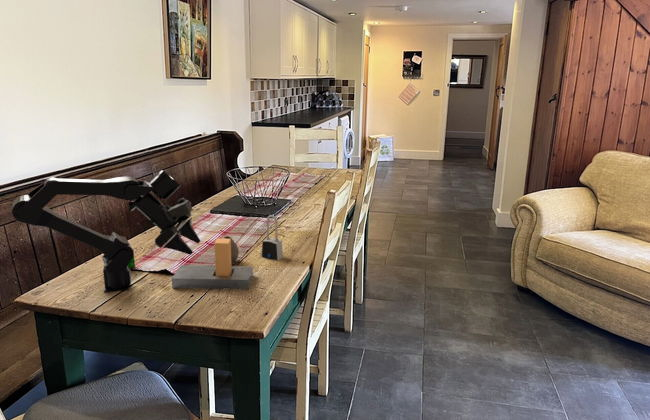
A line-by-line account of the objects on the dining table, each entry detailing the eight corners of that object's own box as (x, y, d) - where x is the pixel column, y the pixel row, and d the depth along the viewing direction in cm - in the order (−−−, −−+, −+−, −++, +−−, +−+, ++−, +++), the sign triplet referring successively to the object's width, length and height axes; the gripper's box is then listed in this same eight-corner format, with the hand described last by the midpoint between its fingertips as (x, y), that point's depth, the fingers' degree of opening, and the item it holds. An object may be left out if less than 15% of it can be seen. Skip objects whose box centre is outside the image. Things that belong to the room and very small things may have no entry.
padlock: (283, 256, 165) (283, 215, 160) (277, 261, 161) (277, 218, 157) (267, 253, 167) (266, 212, 163) (260, 257, 164) (260, 215, 159)
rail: (172, 287, 139) (171, 278, 138) (181, 273, 149) (181, 264, 148) (248, 289, 139) (248, 279, 139) (252, 275, 149) (252, 266, 148)
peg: (216, 284, 142) (214, 243, 138) (218, 278, 146) (217, 238, 142) (229, 284, 142) (228, 243, 139) (231, 278, 146) (230, 238, 142)
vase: (218, 267, 155) (217, 241, 152) (216, 259, 161) (216, 234, 158) (239, 265, 156) (239, 240, 154) (237, 257, 163) (237, 233, 160)
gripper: (163, 200, 127) (207, 240, 131) (182, 184, 145) (220, 220, 148) (136, 228, 129) (179, 266, 133) (158, 209, 147) (196, 243, 150)
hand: (195, 247), depth 141 cm, fingers open, 9 cm apart
